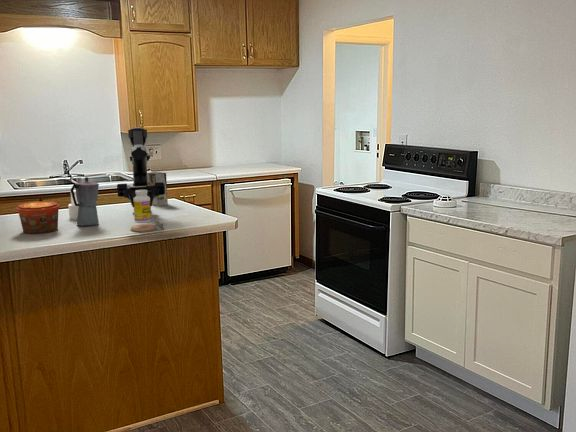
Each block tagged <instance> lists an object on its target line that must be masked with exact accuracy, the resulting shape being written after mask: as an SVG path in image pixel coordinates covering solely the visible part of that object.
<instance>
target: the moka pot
mask: <svg viewBox="0 0 576 432" xmlns="http://www.w3.org/2000/svg"><path fill="white" fill-rule="evenodd" d="M99 186H100V185H99V182H94V181H89V177H84V181H80V182H77V183H73V184H72V186H71V189H70V190H71V192H70V194H71V193H72V197H73V200H74V204H75V206H79V208H78V217H77V219H76V225H78V226H80V227H83V226H85V227H87V226H88V227H89V226H96V225H99V223H100V222H99V216H98V210H97V209H98V208H97V201H98V197H99ZM73 190H76V196H77V202H78V204H77V202H76V199H75V193H74V191H73Z"/></svg>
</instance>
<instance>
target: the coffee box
mask: <svg viewBox="0 0 576 432" xmlns="http://www.w3.org/2000/svg"><path fill="white" fill-rule="evenodd" d="M147 176H148V184H149V186H155V182H164V183H165V194H164V195H159V196H156V197H155V199H154V201H153V204H152V206H153V205H154V206H157V207H159V206H160V207H161V206H167V205H168V204H169V202H168V184H167V182H168V181H167V173H166V172H162V171H151V172H147Z"/></svg>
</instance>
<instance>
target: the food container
mask: <svg viewBox="0 0 576 432" xmlns="http://www.w3.org/2000/svg"><path fill="white" fill-rule="evenodd" d="M59 208H61V205H60V204H59V203H58V202H56V201H35V202H32V201H31V202H25V203H22V204H19V205H18V206H17V207H16V209H15V210H16V211H18V216H19V221H20V224H21V227H22V232H23V233H25V234H29V235H39V234H47V233H52V232H55V231H57V230H58V229H59Z"/></svg>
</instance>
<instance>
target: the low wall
mask: <svg viewBox="0 0 576 432" xmlns="http://www.w3.org/2000/svg"><path fill="white" fill-rule="evenodd" d="M155 225H156V228H159V229H160V230H161V231H163V230H164V223H163V222H162V221H161V220H159V219H156V218H155Z"/></svg>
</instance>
